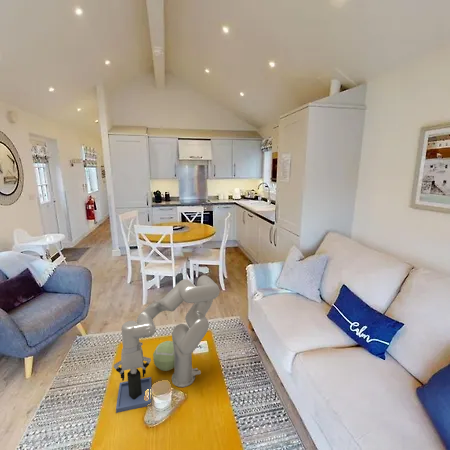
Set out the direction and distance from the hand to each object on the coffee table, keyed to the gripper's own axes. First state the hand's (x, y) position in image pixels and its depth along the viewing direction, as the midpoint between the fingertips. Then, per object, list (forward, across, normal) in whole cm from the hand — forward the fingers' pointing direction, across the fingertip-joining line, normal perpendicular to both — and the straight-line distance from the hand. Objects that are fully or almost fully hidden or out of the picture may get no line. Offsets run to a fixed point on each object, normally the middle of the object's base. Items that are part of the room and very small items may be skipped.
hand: (133, 376), depth 131 cm
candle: (+11, 0, 0) cm, 11 cm away
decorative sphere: (+11, -17, -16) cm, 26 cm away
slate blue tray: (+11, 0, 0) cm, 11 cm away
